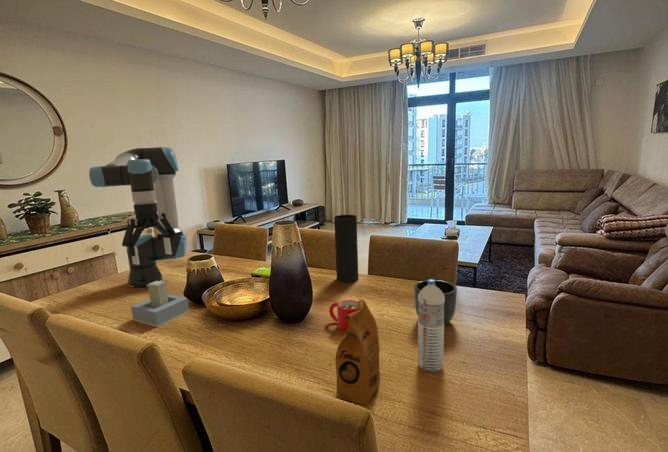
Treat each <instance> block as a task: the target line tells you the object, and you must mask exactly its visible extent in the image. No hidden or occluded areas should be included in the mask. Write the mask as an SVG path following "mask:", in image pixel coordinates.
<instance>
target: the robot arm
mask: <svg viewBox="0 0 668 452" xmlns="http://www.w3.org/2000/svg"><path fill="white" fill-rule="evenodd" d="M176 172H179V164H178V160H177V156H176V153H175V151H174V149H173V148H171V147H169V146H168V147H166V146H165V147H164V146H160V147H159V146H158V147H138V148H137V147H136V148H132V149H129V150H126V151H124V152H121V153H119V154H118V155H117V156H116V158H115V159H114V160H113V161H110V162H109V163H108V164H105V165H103V166H102V165H100V166H92V167H91V168H90V169H89V173H88V174H89V181H90V183H91V185H92V186H93V187H96V188H106V187H107V188H108V187H121V186H122V187H123V186H130V190H131V198H132V203H134V204H133V209H134V210H133V211H134V214H135V218H127V221H126V222H127V225H126V230H125V233H124V236H123V240H122V243H121V246H122V247H125V248H126V249H125V250H126V253H127V259H128V265H129V273H128V279H127V286H128V285H130V286H134V287H139V286H146V285H148V284H150V283H152V282H155V281H160V280H162V279H163V275H162V273H161V271H160V269H159V267H158V265H157V261H164V260H172V259H173V260H174V259H175V260H176V259H181V258H184V257H185V256H186V253H187V246H188V244H187V243H188V242H187V241H188V239H187V234H186V233H184V232H183V230H182V229H181V228H180V226H179V218H178V211H177V210H178V209H177V202H176V193H175V185H174V179H175V177H176V176H177V173H176ZM150 228H155V229H156V230H158V231H157V232H156V236H153V234H152V233H145V234H142V233H143V232H144V231H145V229H150ZM162 281H163V280H162Z"/></svg>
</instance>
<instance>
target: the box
mask: <svg viewBox="0 0 668 452" xmlns="http://www.w3.org/2000/svg"><path fill="white" fill-rule="evenodd" d="M166 283H167V282H166V281H163V280H162V281H155V282H152V283H150V284H148V286H147V290H148V294H149V299H150V301H151V307H152V308H153V309H155V308H157V307H160V306H162V305H164V304H166V303H169V300H168V294H169V293H168V289H167V284H166Z"/></svg>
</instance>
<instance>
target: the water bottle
mask: <svg viewBox="0 0 668 452" xmlns="http://www.w3.org/2000/svg"><path fill="white" fill-rule="evenodd" d="M427 280H428V285H427V286H425V287H424V288H423V289H422V290H421V291H420V292H419V294H418V301H419V309H418V315H417V316H418V321H417V364H418V367H419V368H420V369H421V371H423V372H427V373H433V374H434V373H440V372H441V371H442V370H443V368H444V361H445V360H444V356H445V354H444V353H445V352H444V351H445V350H444V349H445V326H444V302H445V296H444V294H443V292H442V291H441V290H440V289H439V288H438V287H436V286H435V280H436V279H432V278H431V279H430V278H429V279H427Z"/></svg>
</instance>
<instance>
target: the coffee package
mask: <svg viewBox="0 0 668 452" xmlns="http://www.w3.org/2000/svg"><path fill="white" fill-rule="evenodd" d="M357 302H358V303H357V311H356V312H354V313H351V314H349V315H347V316H346V317H344V320H349V324H350V325H349V327H348V329H347V331H345V333H344V335H343V337H342V339H341V340H340V342H339V344H338V346H337V349H336V353H335V357H334V360H335V372H336V395H337V396H338V397H339V399H342V400H347V401H349V402H352V403H355V404H356V405H357V404H358V405H367V404H368V403H369V402H370V400H371V398H372V396H373V394H375V393H376V392H377V391H378V389H379V387H380V381H381V376H380V341H379V339H380V338H379V331H378V325H377V322H376V319H375V317H374V315H373V314H372V312H371V310H370V308H369V306H368V304H367V303H366V301H365V299H363V298H362V299H359V300H358V301H357Z"/></svg>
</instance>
